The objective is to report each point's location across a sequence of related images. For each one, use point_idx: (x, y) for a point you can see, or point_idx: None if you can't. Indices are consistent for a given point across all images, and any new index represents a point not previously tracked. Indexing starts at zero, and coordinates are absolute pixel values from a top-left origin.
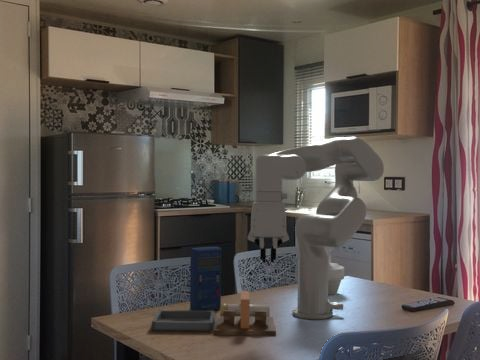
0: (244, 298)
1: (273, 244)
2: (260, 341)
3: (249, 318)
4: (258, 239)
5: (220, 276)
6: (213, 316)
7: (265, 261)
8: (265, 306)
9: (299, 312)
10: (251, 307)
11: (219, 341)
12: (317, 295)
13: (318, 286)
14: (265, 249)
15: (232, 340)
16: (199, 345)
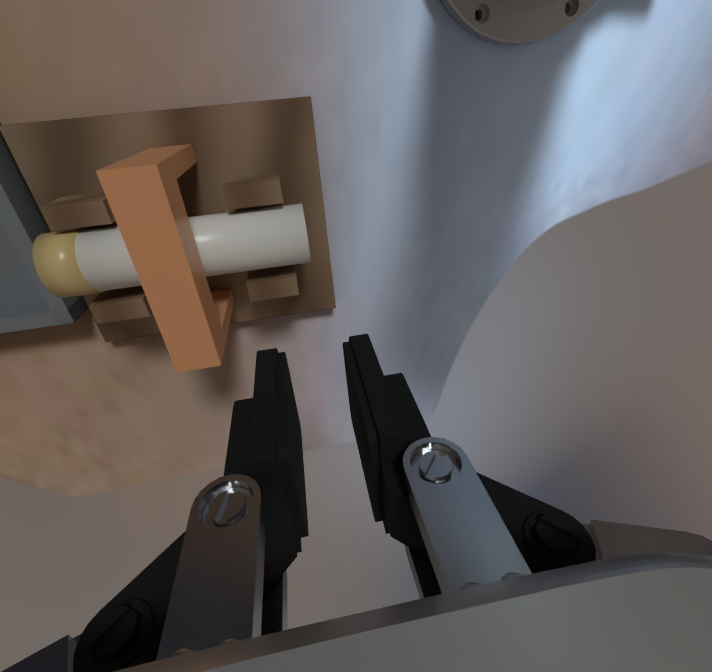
0: (189, 354)
1: (419, 577)
2: (289, 363)
3: (195, 139)
4: (159, 649)
5: None
6: (21, 225)
7: (300, 433)
8: (290, 258)
9: None
10: (220, 271)
11: (160, 387)
12: None
13: None
14: (305, 535)
15: (199, 371)
16: (114, 427)
